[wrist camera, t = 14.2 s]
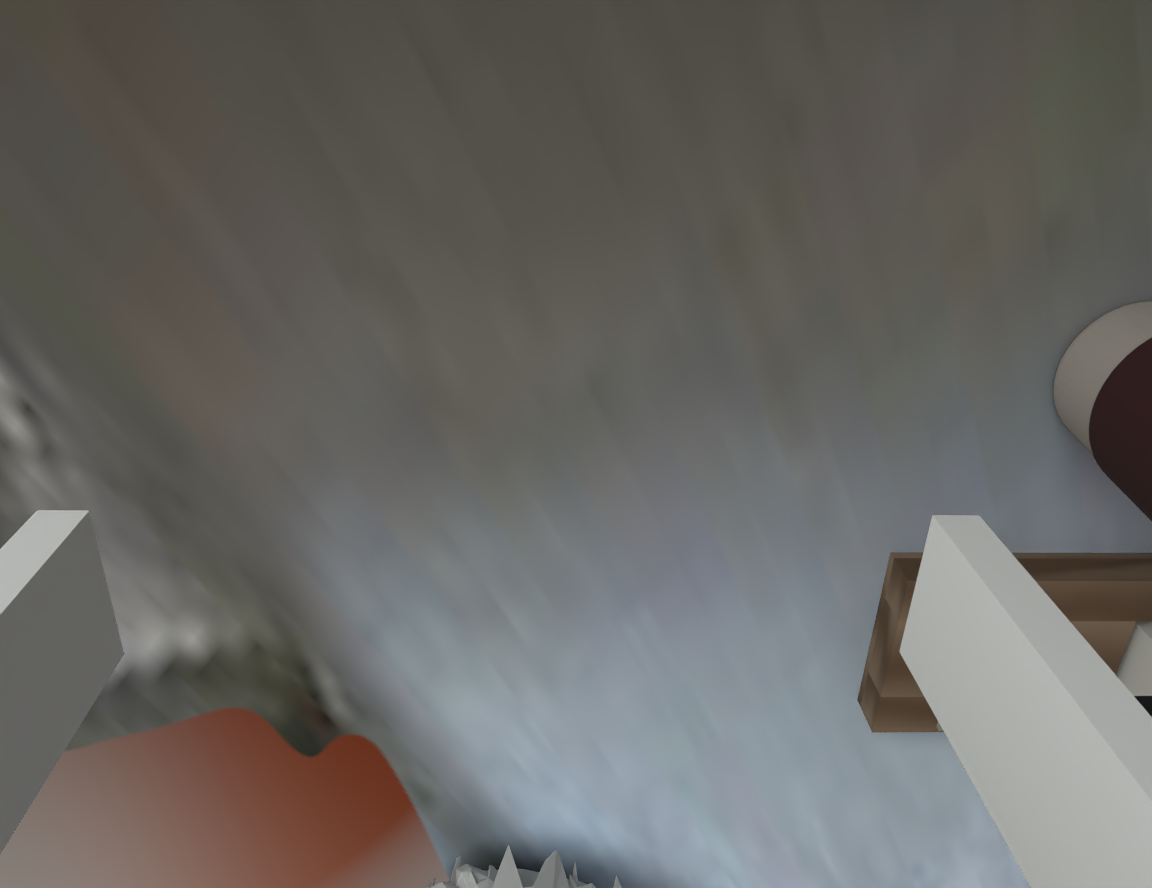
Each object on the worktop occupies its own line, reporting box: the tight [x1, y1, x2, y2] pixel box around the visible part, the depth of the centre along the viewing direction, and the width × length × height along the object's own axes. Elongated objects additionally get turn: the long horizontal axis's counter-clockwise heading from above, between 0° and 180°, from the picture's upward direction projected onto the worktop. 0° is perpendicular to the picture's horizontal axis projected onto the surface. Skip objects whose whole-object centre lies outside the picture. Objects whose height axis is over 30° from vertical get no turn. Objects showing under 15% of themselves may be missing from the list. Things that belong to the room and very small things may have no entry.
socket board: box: [858, 553, 1152, 732], centre depth 48 cm, size 10×20×3 cm, turn 88°
